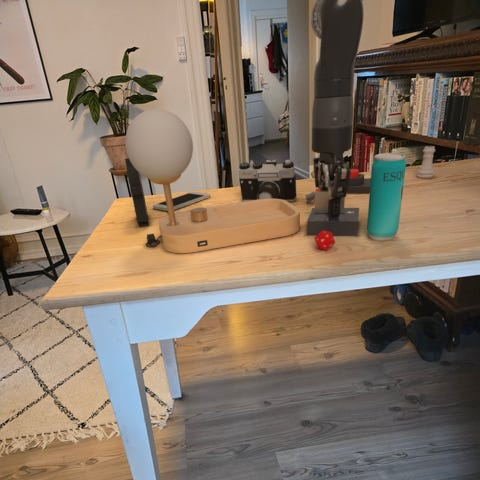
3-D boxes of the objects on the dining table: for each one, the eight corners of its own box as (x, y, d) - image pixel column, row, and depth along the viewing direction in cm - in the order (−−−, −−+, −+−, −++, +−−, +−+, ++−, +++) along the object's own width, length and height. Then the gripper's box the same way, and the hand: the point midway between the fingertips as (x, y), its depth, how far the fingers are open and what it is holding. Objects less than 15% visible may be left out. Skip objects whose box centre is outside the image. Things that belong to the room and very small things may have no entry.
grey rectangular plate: (344, 211, 86) (345, 188, 83) (343, 213, 84) (344, 190, 82) (315, 211, 87) (315, 188, 85) (314, 213, 86) (314, 190, 84)
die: (326, 237, 79) (318, 224, 76) (340, 240, 77) (333, 227, 74) (316, 252, 79) (308, 239, 76) (330, 256, 76) (323, 243, 73)
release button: (358, 175, 111) (359, 168, 110) (358, 178, 108) (358, 171, 107) (345, 175, 112) (345, 169, 111) (344, 179, 109) (344, 172, 108)
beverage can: (402, 240, 77) (412, 156, 70) (372, 243, 77) (379, 160, 69) (390, 230, 82) (398, 151, 75) (362, 233, 82) (367, 154, 74)
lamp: (280, 211, 99) (276, 93, 86) (308, 233, 85) (308, 95, 72) (143, 233, 94) (117, 110, 80) (148, 261, 79) (117, 116, 66)
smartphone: (210, 196, 116) (210, 193, 116) (169, 211, 107) (169, 208, 106) (193, 194, 121) (193, 191, 120) (152, 208, 111) (152, 205, 111)
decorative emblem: (149, 227, 97) (135, 161, 89) (139, 229, 97) (124, 162, 89) (148, 214, 107) (135, 153, 99) (138, 215, 107) (125, 154, 99)
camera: (235, 212, 106) (229, 175, 99) (245, 193, 114) (240, 157, 107) (290, 213, 102) (288, 174, 95) (298, 193, 109) (296, 156, 103)
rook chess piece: (436, 175, 116) (441, 145, 112) (429, 179, 114) (434, 148, 109) (420, 174, 119) (424, 145, 115) (414, 177, 116) (418, 147, 112)
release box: (377, 184, 114) (378, 171, 112) (378, 192, 106) (379, 179, 104) (339, 185, 116) (340, 172, 114) (337, 193, 109) (338, 180, 107)
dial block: (358, 219, 90) (359, 204, 88) (357, 235, 81) (358, 220, 80) (307, 218, 93) (307, 205, 91) (301, 235, 84) (301, 220, 83)
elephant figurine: (306, 197, 109) (339, 183, 106) (313, 217, 107) (346, 203, 105) (298, 180, 99) (334, 164, 97) (305, 201, 98) (342, 185, 95)
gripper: (368, 124, 71) (360, 221, 80) (336, 118, 83) (333, 202, 92) (327, 129, 70) (324, 226, 79) (301, 122, 82) (301, 207, 91)
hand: (329, 213), depth 85 cm, fingers open, 4 cm apart
